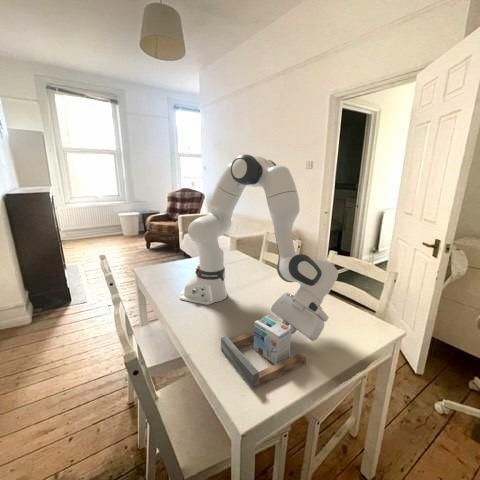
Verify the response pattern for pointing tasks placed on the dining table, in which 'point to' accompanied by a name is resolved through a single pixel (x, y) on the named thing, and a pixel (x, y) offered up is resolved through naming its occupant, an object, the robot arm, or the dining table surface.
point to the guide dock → (247, 369)
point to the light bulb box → (272, 339)
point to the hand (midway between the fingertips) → (282, 336)
